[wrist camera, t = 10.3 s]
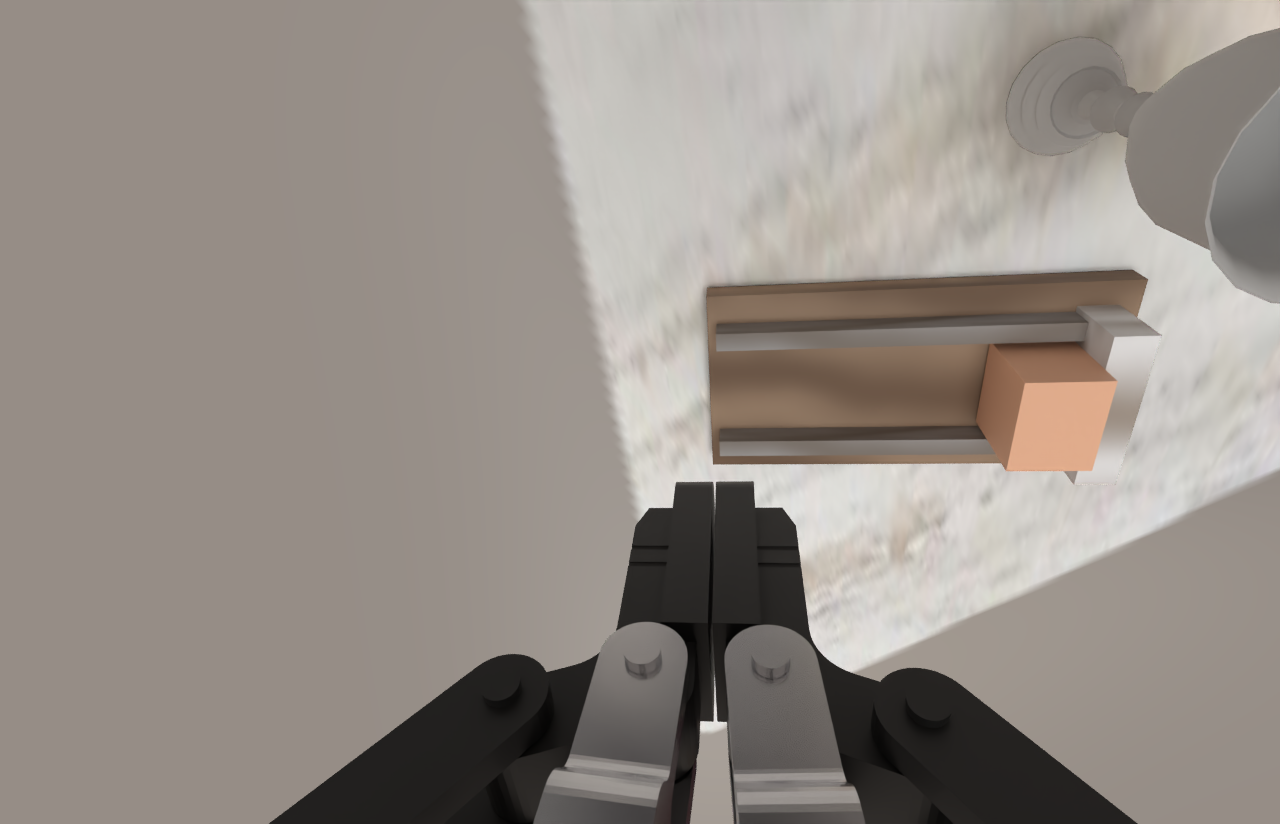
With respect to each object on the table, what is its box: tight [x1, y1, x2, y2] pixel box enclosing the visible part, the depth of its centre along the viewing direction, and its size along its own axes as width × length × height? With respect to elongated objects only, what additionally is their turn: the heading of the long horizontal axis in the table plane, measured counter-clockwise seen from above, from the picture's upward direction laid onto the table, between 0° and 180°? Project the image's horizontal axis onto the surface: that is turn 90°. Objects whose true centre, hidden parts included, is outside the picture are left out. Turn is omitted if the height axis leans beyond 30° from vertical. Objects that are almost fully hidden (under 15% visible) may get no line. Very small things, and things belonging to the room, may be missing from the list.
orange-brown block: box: [976, 341, 1118, 471], centre depth 35 cm, size 5×4×5 cm
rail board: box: [706, 270, 1162, 485], centre depth 37 cm, size 11×22×6 cm, turn 95°
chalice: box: [1006, 28, 1280, 303], centre depth 24 cm, size 7×7×18 cm
